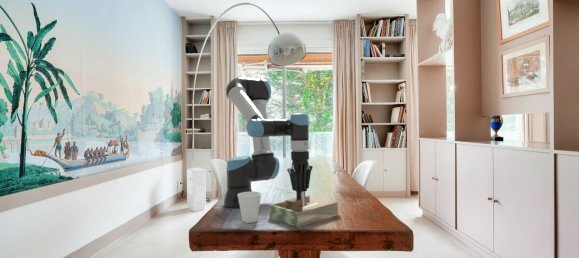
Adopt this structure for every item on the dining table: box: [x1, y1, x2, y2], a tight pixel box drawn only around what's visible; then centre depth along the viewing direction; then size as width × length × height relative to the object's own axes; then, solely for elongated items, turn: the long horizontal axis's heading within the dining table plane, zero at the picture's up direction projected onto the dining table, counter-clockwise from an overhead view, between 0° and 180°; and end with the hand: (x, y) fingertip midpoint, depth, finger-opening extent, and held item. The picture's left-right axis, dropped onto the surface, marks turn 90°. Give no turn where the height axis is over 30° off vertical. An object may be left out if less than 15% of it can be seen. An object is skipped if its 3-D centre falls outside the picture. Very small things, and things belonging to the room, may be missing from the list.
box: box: [268, 195, 339, 228], centre depth 135 cm, size 18×23×6 cm
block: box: [284, 197, 303, 212], centre depth 130 cm, size 5×5×5 cm
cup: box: [237, 191, 262, 224], centre depth 129 cm, size 10×10×11 cm
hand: (301, 206), depth 133 cm, fingers closed
